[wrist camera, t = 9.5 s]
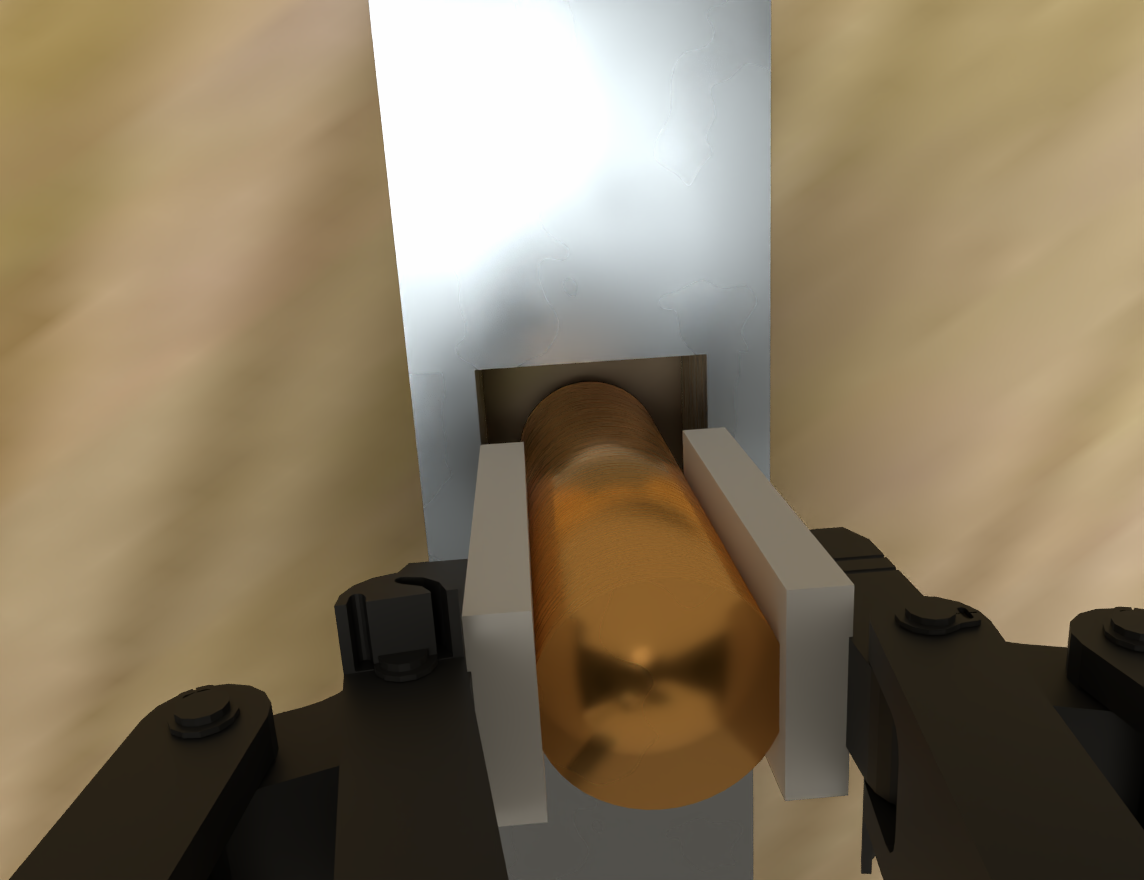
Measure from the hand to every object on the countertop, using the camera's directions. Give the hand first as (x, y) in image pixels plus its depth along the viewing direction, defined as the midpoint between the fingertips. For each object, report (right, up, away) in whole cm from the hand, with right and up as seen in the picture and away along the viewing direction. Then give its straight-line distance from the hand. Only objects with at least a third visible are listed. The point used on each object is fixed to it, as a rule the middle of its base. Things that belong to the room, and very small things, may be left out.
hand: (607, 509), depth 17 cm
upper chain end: (0, +4, +4) cm, 6 cm away
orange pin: (0, +1, +4) cm, 4 cm away
